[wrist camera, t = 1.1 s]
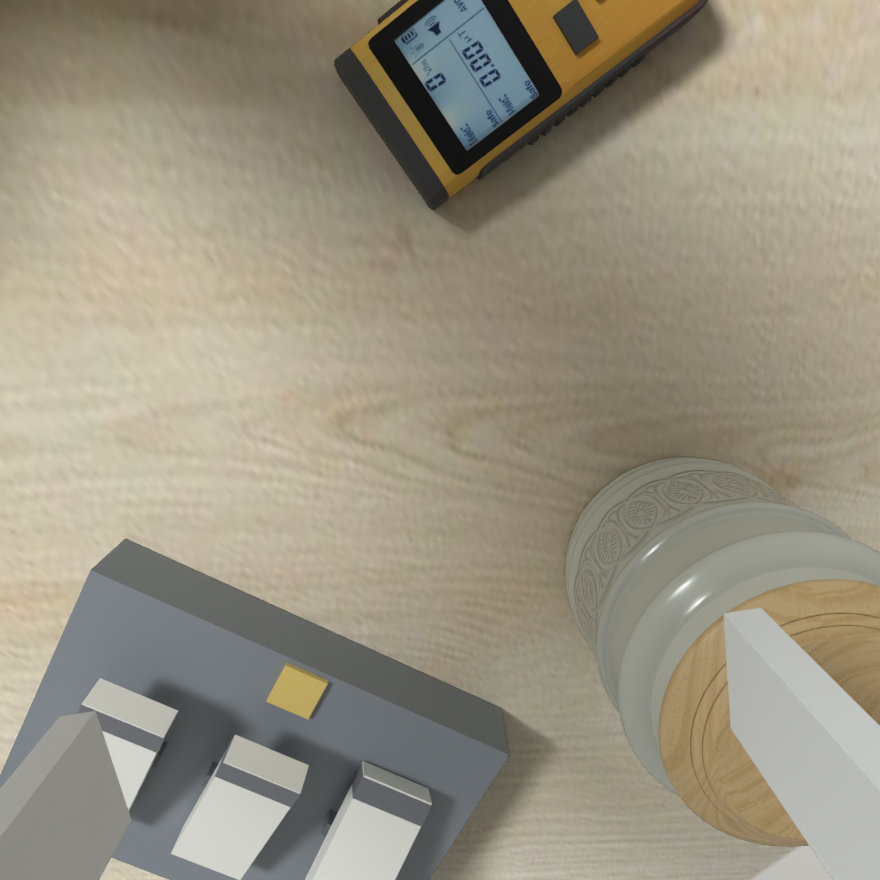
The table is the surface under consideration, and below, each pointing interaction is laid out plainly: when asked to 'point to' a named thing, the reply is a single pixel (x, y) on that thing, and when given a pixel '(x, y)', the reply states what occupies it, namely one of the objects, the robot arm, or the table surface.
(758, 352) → the table surface
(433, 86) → the electronic device
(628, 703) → the jar
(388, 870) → the rocker far
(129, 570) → the switch unit
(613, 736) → the table surface
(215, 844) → the rocker mid
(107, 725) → the rocker near
